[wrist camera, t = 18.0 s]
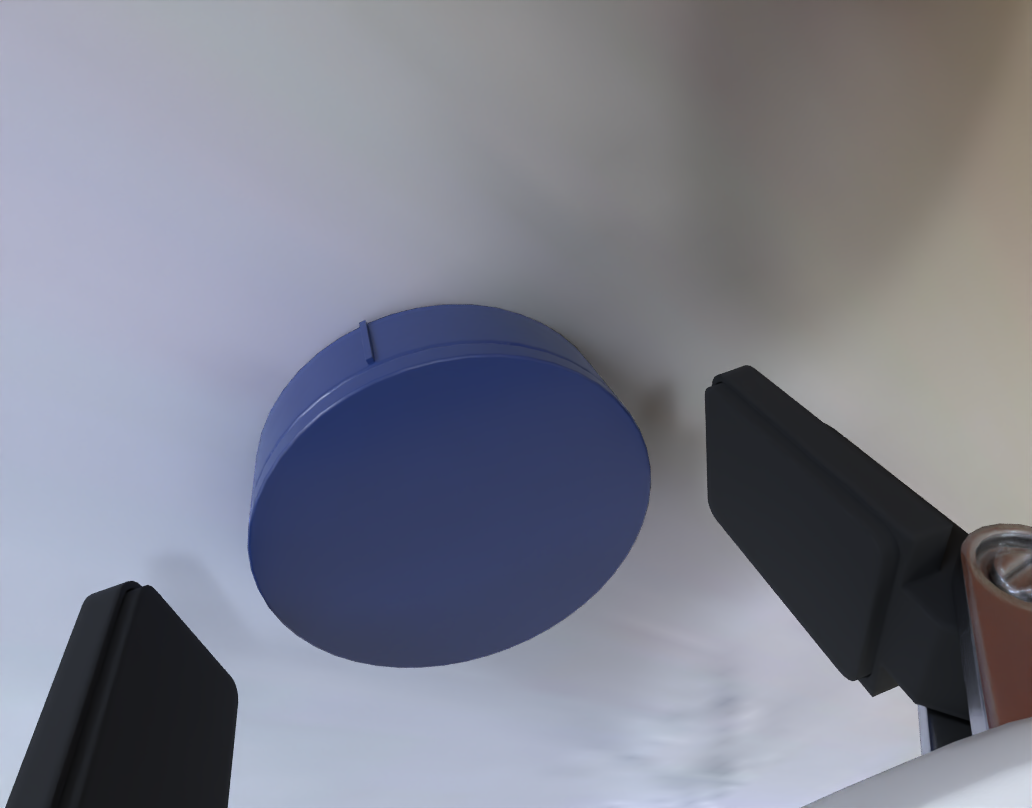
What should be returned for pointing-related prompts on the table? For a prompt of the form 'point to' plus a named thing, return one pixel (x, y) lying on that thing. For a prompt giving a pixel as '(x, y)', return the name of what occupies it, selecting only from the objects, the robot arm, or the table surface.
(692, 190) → the table surface
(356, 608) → the jam lid
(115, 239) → the table surface
